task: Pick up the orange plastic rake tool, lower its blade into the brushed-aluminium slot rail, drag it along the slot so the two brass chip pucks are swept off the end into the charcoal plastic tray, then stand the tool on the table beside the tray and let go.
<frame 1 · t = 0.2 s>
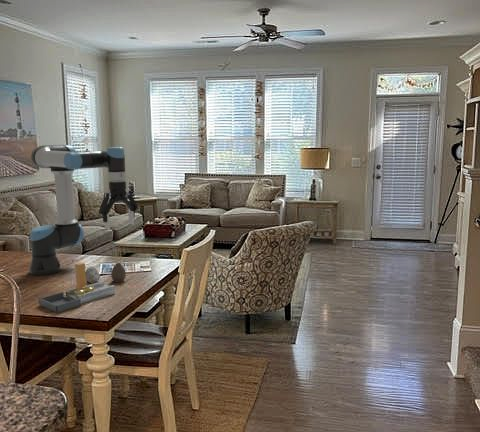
hand: (119, 226, 219), 27 cm above the table, fingers open, 13 cm apart
brass chip 1: (80, 294, 203), point 2 cm above the table, touching slot rail
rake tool: (81, 291, 213), on the table
mineral specimen: (92, 281, 229), on the table
chip tray: (60, 305, 196), on the table
slot rail: (91, 296, 207), on the table
brass chip 2: (89, 292, 206), point 2 cm above the table, touching slot rail
vase: (118, 281, 228), on the table
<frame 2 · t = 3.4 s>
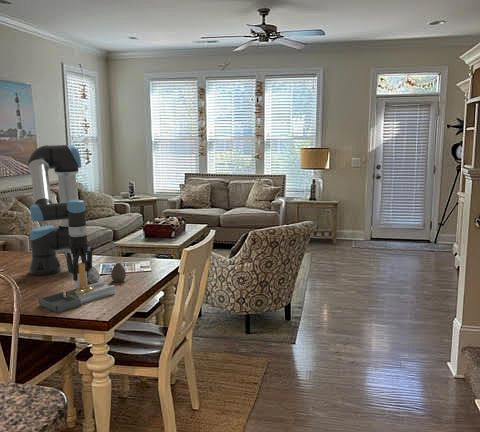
hand: (81, 286, 213), 3 cm above the table, fingers closed on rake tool, 3 cm apart
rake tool: (81, 291, 213), on the table, touching gripper
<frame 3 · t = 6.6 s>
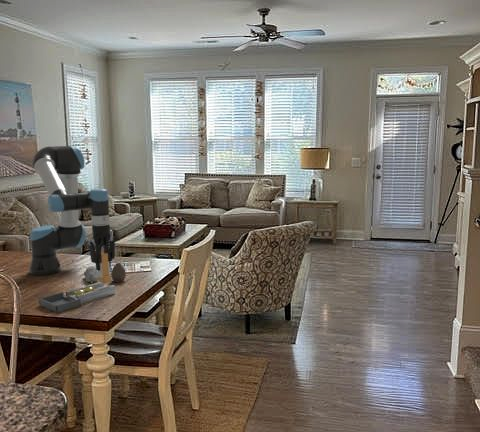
hand: (104, 276, 211), 8 cm above the table, fingers closed on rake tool, 3 cm apart
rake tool: (104, 281, 211), point 5 cm above the table, touching gripper
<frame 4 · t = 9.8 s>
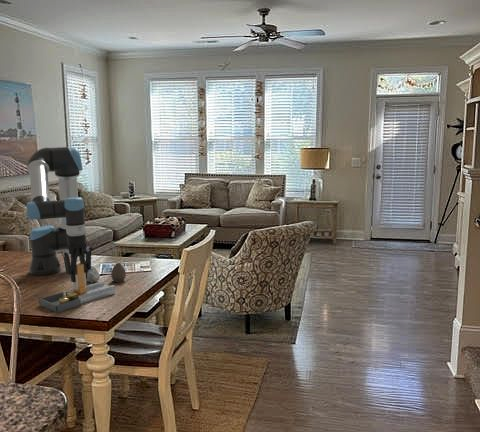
hand: (79, 287, 202), 5 cm above the table, fingers closed on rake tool, 3 cm apart
brass chip 1: (64, 302, 197), point 1 cm above the table
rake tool: (80, 293, 202), point 3 cm above the table, touching brass chip 2, gripper
brass chip 2: (73, 297, 200), point 2 cm above the table, touching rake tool, slot rail
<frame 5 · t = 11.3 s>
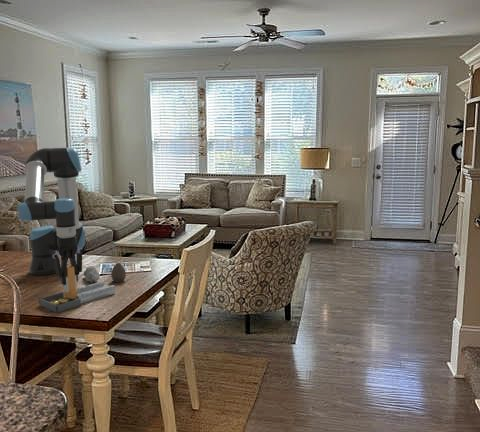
hand: (70, 290, 199), 5 cm above the table, fingers closed on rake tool, 3 cm apart
brass chip 1: (54, 306, 194), resting on chip tray
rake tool: (71, 296, 199), point 3 cm above the table, touching gripper
brass chip 2: (64, 303, 197), resting on chip tray
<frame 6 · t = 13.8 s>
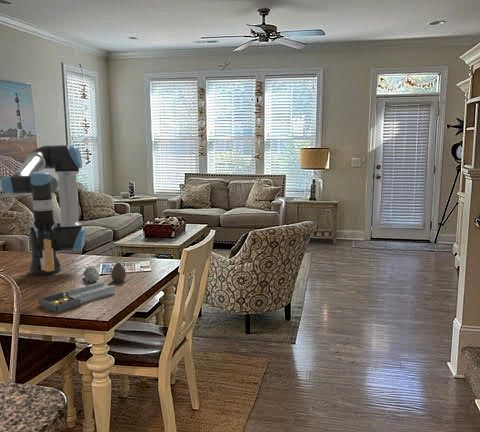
hand: (47, 263, 201), 16 cm above the table, fingers closed on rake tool, 3 cm apart
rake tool: (48, 269, 202), point 13 cm above the table, touching gripper
when the fingers open (4 cm above the table, at t = 16.0 s): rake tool stays where it is, on the table.
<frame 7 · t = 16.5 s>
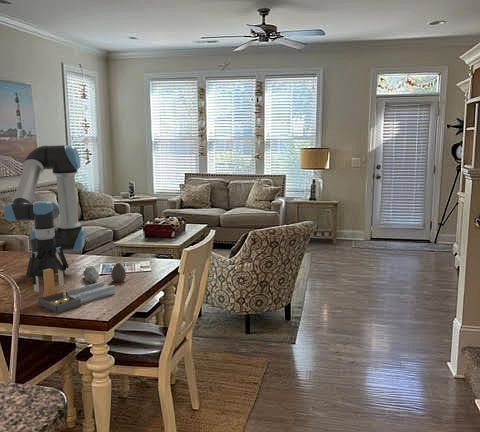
hand: (49, 288, 203), 5 cm above the table, fingers open, 10 cm apart
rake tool: (50, 298, 204), on the table
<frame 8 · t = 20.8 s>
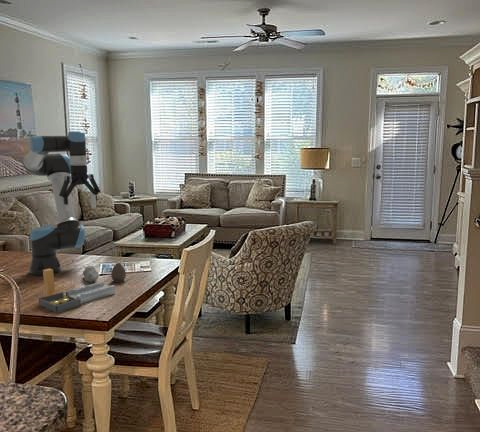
hand: (81, 209, 225), 35 cm above the table, fingers open, 13 cm apart
at the end: brass chip 1 inside the target area on the chip tray (2.4 cm from its centre), point 0.4 cm above the chip tray's base; brass chip 2 inside the target area on the chip tray (1.7 cm from its centre), point 0.4 cm above the chip tray's base; the gripper is holding nothing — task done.
